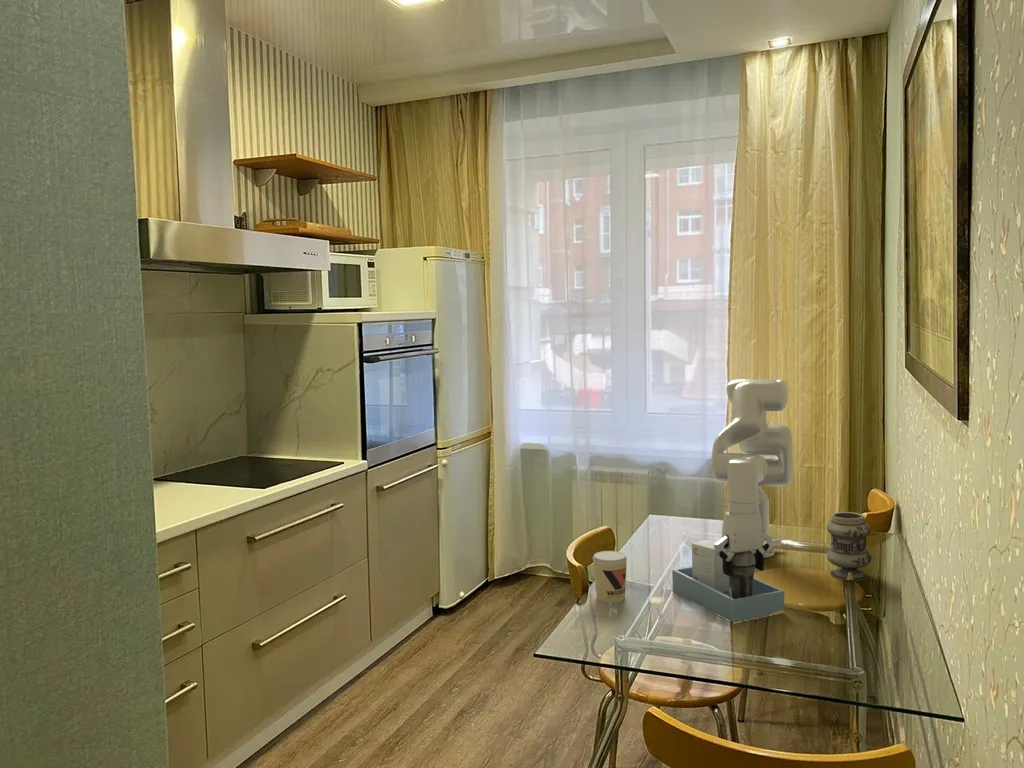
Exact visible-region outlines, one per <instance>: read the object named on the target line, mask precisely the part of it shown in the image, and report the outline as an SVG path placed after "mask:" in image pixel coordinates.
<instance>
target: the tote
mask: <svg viewBox="0 0 1024 768" xmlns="http://www.w3.org/2000/svg"><path fill="white" fill-rule="evenodd" d="M671 573H672V580H671V581H672V591H673V592H674V591H675V593H677V594H678V595H680V596H682V597H684V598H685V599H688V600H689V601H691V602H693V603H695V604H696V605H698V606H700V607H702V608H704V609H706V610H708V611H709V612H711V613H713V612H714V613H713V614H715V613H716V614H718V615H720V616H722V617H724V618H726V619H728V620H730V621H732V622H739V621H744V620H750V619H753V618H758V617H759V618H760V617H763V616H767V615H770V614H772V613H774V612H777V611H780V610H782V609H784V610H785V590H784V589H781V588H778V587H776V586H774V585H772V584H769V583H768V582H765V581H763V580H760V579H758V578H756V577H754V579H753V591H752V596H749V597H744V598H738V599H733V598H732V593H731V582H730V576H729V591H727V592H724V593H721V592H719V591H717V590H715V589H713V588H711V587H709V586H707V585H705V584H703V583H701V582H699V581H697V580H695V579H693V578H692V565H691V566H685V567H680V568H673V569H672V571H671ZM716 614H715V615H716ZM718 615H717V616H718ZM720 616H719V617H720ZM722 617H721V618H722ZM724 618H723V619H724Z"/></svg>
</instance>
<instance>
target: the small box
mask: <svg viewBox="0 0 1024 768" xmlns="http://www.w3.org/2000/svg"><path fill="white" fill-rule="evenodd" d="M717 542H718V541H715V540H710V539H702V540H699V541H696V542H692V543H691V566H692V578H693V579H695V580H697V581H699V582H701V583H703V584H705V585H707V586H709V587H711V588H713V589H715V590H717V591H719V592H721V593H724V592H727V591H729V576H728V575H726V574H724V573H723V559H721V558H720V556H719V555H718V554H717V551H716V550H715V548H714V544H715V543H717ZM722 550H723V551H724V549H723V548H722ZM728 554H729V552H728ZM728 554H727V555H728Z"/></svg>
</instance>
